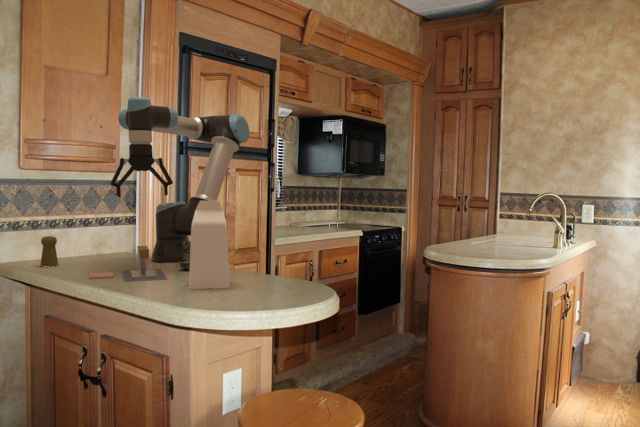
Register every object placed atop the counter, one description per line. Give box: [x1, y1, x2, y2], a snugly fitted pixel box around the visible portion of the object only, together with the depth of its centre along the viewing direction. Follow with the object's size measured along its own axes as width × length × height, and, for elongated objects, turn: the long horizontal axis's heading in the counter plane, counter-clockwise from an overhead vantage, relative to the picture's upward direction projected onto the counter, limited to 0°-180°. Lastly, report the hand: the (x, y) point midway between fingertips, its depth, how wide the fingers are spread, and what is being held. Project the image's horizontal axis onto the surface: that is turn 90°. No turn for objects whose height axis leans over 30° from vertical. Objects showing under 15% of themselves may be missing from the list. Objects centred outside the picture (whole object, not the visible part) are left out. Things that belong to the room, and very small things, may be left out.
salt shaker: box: [178, 237, 191, 271], centre depth 192 cm, size 6×6×12 cm
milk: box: [188, 200, 231, 290], centre depth 168 cm, size 12×12×26 cm
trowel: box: [130, 245, 158, 279], centre depth 182 cm, size 15×8×9 cm, turn 22°
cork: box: [40, 235, 59, 267], centre depth 201 cm, size 6×6×11 cm
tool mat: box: [121, 268, 169, 283], centre depth 182 cm, size 13×22×1 cm, turn 22°
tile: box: [89, 271, 114, 280], centre depth 178 cm, size 7×2×8 cm
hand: (143, 206), depth 188 cm, fingers open, 13 cm apart
